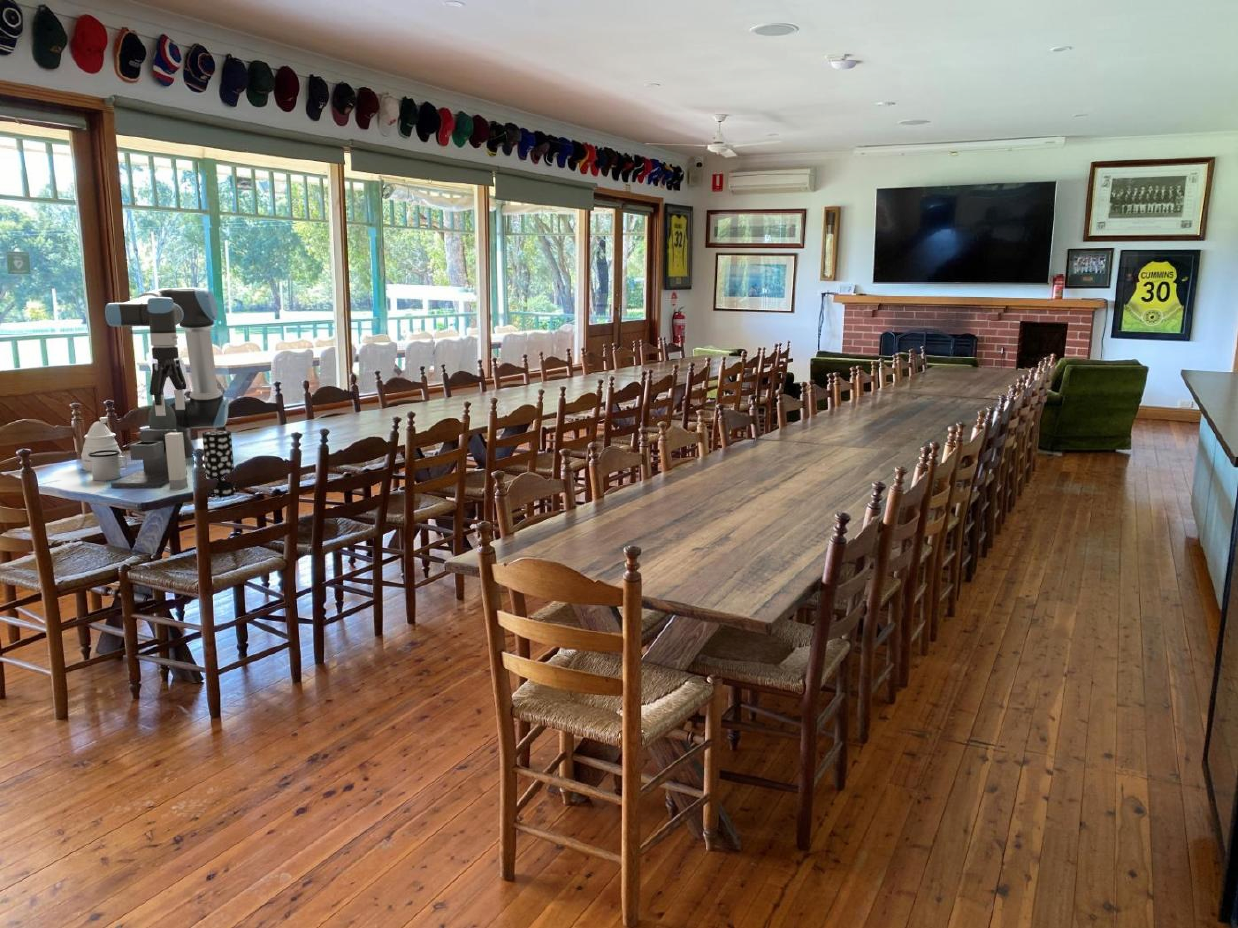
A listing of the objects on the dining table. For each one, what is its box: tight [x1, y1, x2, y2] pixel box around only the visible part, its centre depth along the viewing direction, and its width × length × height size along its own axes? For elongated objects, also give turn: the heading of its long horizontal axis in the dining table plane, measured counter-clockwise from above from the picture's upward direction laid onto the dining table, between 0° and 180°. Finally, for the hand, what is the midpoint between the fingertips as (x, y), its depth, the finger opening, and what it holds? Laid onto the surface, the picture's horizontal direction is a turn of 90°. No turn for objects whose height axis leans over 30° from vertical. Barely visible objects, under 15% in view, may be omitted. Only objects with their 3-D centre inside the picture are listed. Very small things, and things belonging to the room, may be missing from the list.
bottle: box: [147, 391, 176, 430], centre depth 333 cm, size 9×9×30 cm
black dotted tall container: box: [201, 430, 237, 499], centre depth 290 cm, size 8×8×20 cm
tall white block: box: [165, 433, 189, 490], centre depth 300 cm, size 4×4×18 cm
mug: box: [88, 450, 128, 482], centre depth 315 cm, size 12×10×9 cm
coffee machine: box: [110, 429, 188, 489], centre depth 310 cm, size 20×16×16 cm
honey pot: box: [80, 416, 124, 472], centre depth 331 cm, size 13×13×18 cm
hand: (170, 412), depth 297 cm, fingers open, 13 cm apart
